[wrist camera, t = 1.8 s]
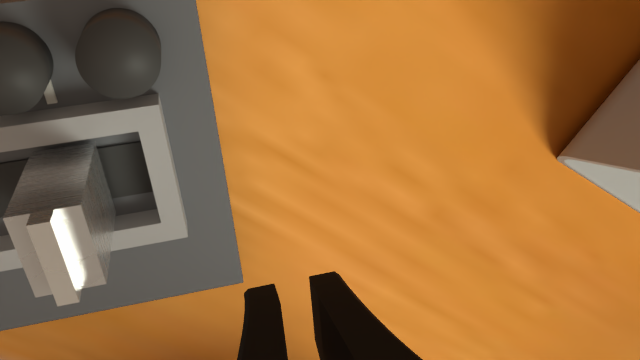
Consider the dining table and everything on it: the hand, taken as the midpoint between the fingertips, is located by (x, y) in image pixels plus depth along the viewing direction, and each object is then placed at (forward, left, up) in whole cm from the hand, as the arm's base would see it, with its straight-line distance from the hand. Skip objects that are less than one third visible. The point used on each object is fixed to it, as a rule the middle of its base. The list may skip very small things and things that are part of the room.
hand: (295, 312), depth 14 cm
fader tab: (0, +6, -8) cm, 10 cm away
